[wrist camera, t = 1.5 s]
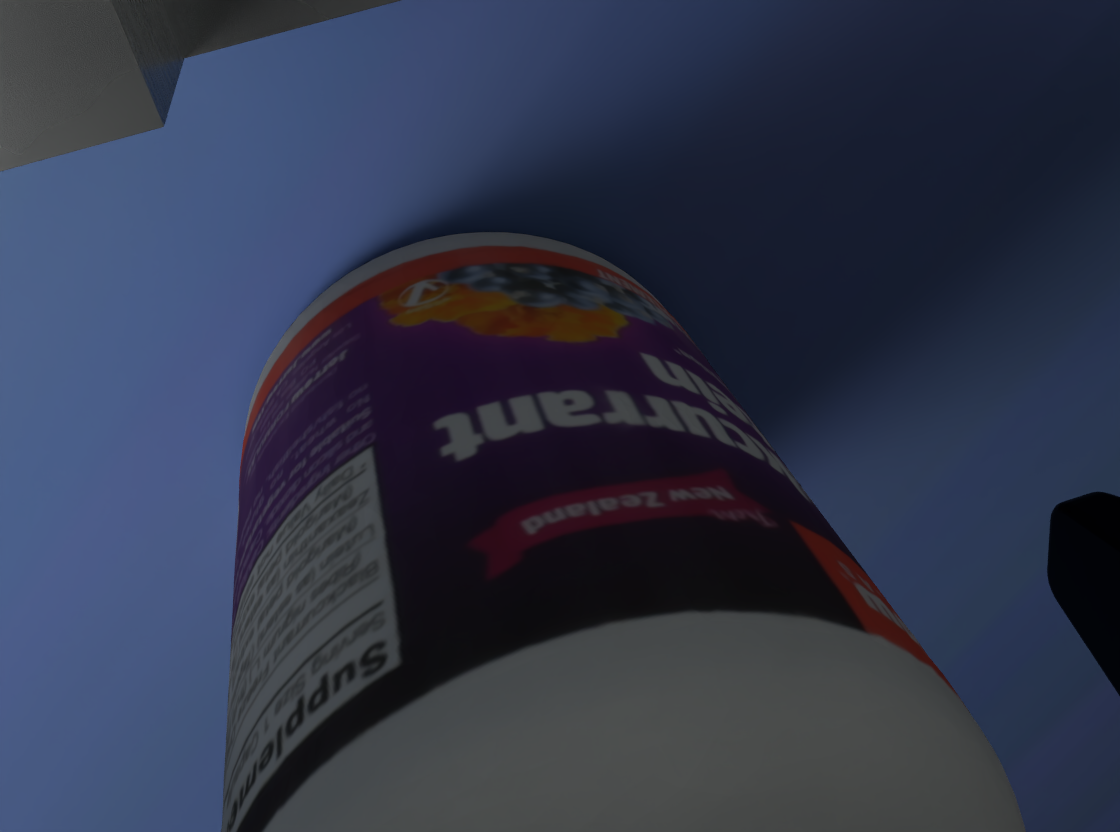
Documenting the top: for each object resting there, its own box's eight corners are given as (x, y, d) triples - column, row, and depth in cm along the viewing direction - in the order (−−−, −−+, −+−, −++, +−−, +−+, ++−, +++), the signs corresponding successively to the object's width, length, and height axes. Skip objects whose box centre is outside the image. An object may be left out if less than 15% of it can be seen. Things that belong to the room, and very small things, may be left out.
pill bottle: (772, 321, 13) (1628, 1243, 5) (561, 646, 15) (920, 1701, 7) (354, 131, 11) (641, 1279, 2) (169, 544, 13) (-13, 1960, 4)
